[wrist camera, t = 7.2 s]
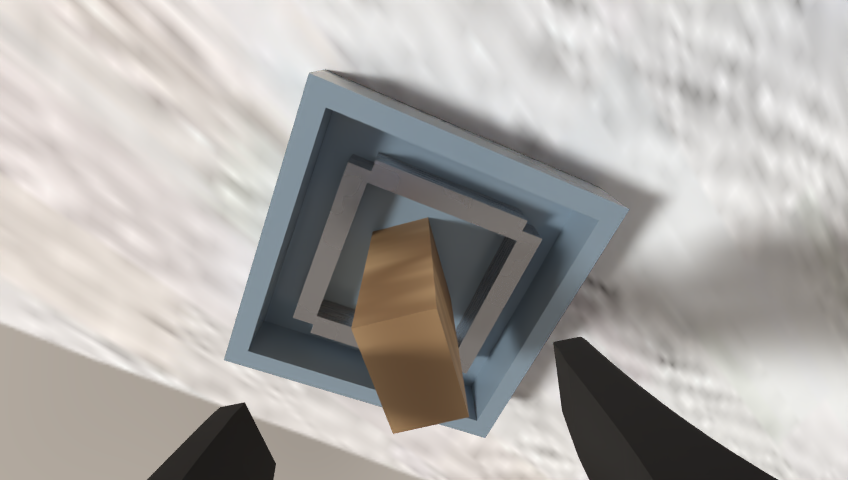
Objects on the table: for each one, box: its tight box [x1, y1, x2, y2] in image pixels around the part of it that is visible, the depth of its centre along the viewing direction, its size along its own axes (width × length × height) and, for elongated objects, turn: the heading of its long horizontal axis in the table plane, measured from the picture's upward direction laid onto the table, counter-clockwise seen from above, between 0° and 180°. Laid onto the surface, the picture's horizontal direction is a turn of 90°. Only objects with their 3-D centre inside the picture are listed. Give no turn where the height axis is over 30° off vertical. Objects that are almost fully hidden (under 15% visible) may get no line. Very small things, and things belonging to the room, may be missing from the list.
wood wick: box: [351, 217, 469, 434], centre depth 16 cm, size 2×4×7 cm, turn 15°
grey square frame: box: [293, 152, 542, 374], centre depth 18 cm, size 8×8×1 cm
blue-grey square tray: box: [224, 70, 629, 438], centre depth 18 cm, size 12×12×3 cm
